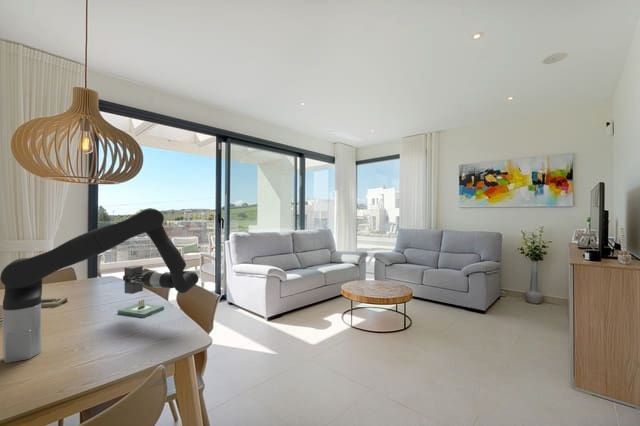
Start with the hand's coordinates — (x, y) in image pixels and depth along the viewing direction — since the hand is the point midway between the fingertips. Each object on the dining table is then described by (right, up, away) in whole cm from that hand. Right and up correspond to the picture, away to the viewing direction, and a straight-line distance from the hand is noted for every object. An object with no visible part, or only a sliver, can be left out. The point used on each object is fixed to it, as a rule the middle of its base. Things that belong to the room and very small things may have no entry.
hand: (129, 276), depth 141 cm
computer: (-51, -18, +11) cm, 55 cm away
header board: (+3, -18, +4) cm, 19 cm away
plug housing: (+2, -7, -1) cm, 8 cm away
